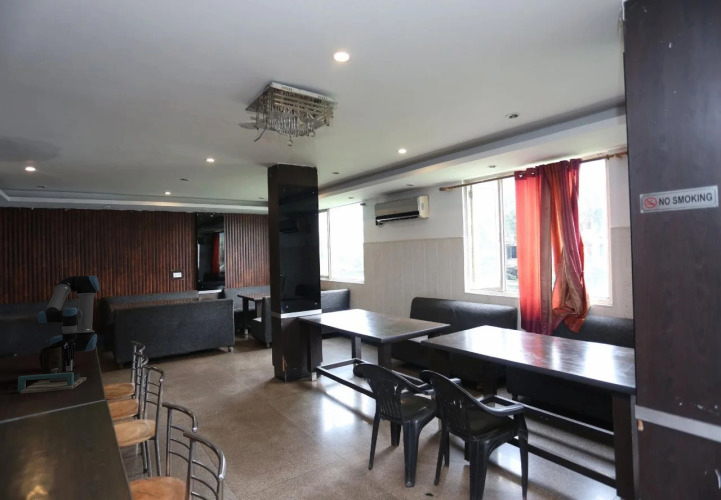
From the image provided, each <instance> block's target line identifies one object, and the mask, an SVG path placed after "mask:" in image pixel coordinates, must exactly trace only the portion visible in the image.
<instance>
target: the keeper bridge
mask: <svg viewBox="0 0 721 500" xmlns="http://www.w3.org/2000/svg"><path fill="white" fill-rule="evenodd" d="M74 374H75V372H73V371H68V372H62V373H55V374H42V375H41V374H30V375H20V376H18V377H17V393H20V392H21V390H23V389H25V388H27V386H26V385H27V384H26V382H27V381H33V380H41V379H49V378H62V377H67V386H70V385H73V384H74Z"/></svg>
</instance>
